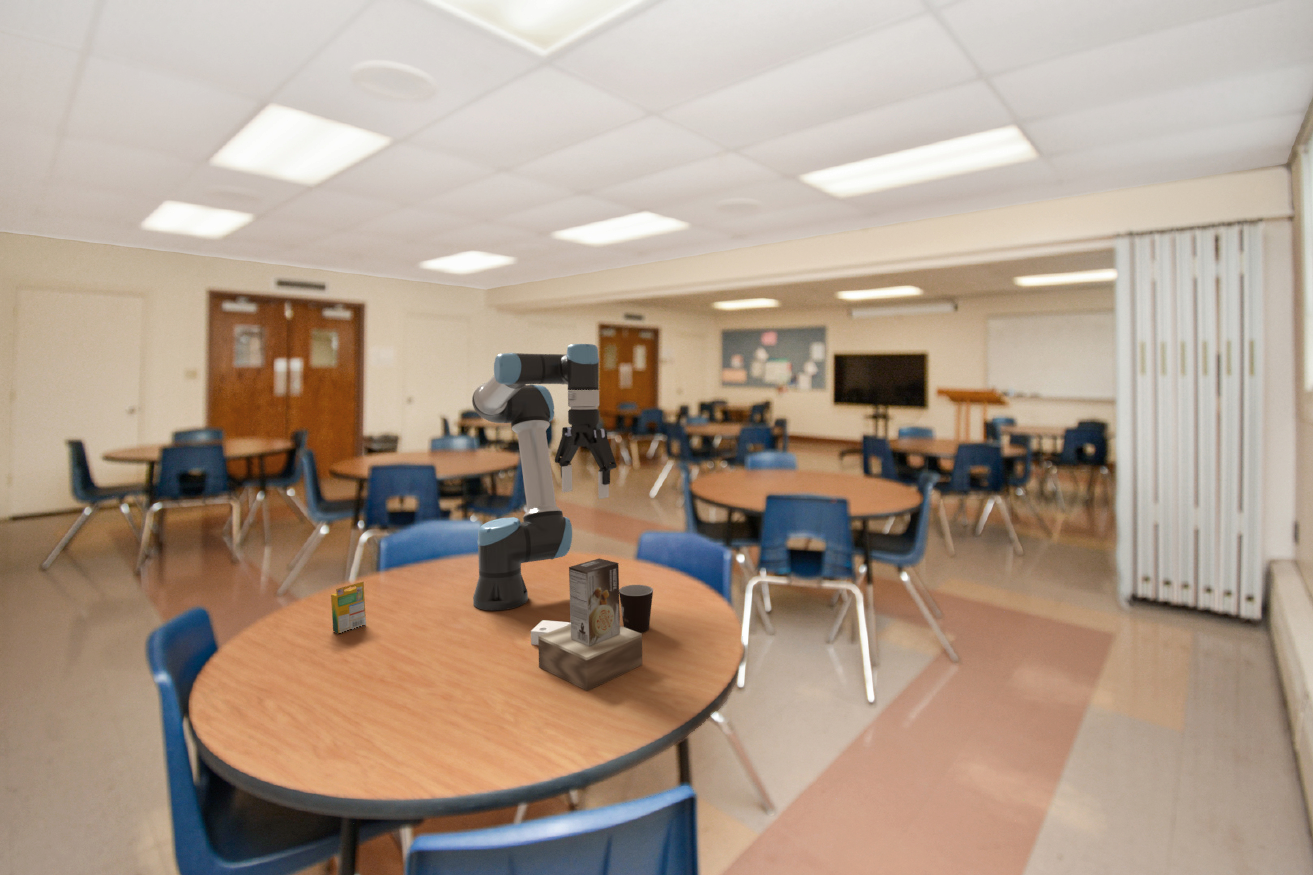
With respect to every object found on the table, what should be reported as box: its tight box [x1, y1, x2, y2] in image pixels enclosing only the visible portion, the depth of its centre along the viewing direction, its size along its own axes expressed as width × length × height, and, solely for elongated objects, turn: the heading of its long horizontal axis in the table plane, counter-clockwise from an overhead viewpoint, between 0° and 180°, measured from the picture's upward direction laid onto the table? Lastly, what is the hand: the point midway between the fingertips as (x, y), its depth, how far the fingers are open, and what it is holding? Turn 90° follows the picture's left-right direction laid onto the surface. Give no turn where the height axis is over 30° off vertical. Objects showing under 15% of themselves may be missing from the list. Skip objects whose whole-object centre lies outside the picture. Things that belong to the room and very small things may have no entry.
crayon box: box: [330, 581, 367, 634], centre depth 158 cm, size 7×3×12 cm, turn 145°
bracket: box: [530, 619, 571, 646], centre depth 150 cm, size 13×7×8 cm, turn 77°
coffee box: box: [568, 558, 621, 646], centre depth 134 cm, size 9×6×16 cm
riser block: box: [537, 624, 643, 692], centre depth 136 cm, size 16×16×7 cm
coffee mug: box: [619, 584, 654, 634], centre depth 158 cm, size 12×9×10 cm
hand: (584, 494), depth 152 cm, fingers open, 13 cm apart
